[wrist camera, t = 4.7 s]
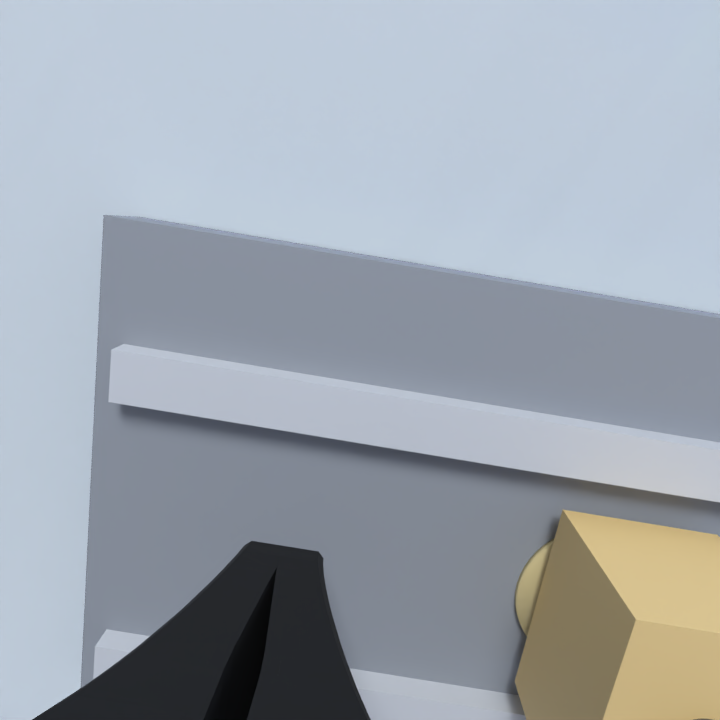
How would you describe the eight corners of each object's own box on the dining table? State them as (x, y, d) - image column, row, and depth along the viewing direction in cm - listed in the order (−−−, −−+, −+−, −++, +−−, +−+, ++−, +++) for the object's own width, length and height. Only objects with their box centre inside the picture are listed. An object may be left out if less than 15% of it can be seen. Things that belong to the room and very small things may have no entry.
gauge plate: (1044, 368, 11) (1665, 497, 6) (833, 807, 14) (1120, 1169, 9) (139, 216, 11) (-88, 204, 6) (109, 692, 14) (-62, 987, 9)
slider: (716, 534, 10) (931, 726, 6) (656, 704, 11) (809, 962, 7) (562, 509, 10) (679, 685, 6) (514, 681, 11) (590, 928, 7)
